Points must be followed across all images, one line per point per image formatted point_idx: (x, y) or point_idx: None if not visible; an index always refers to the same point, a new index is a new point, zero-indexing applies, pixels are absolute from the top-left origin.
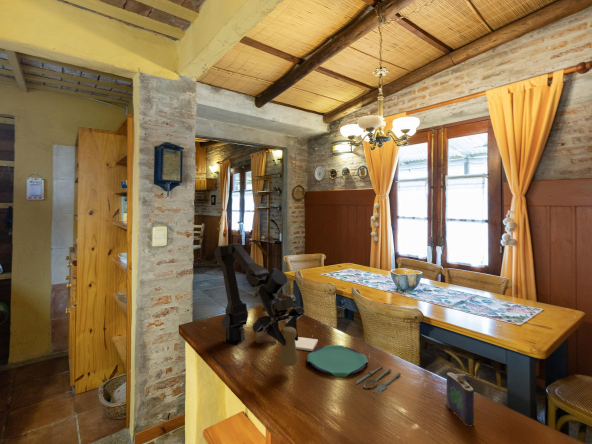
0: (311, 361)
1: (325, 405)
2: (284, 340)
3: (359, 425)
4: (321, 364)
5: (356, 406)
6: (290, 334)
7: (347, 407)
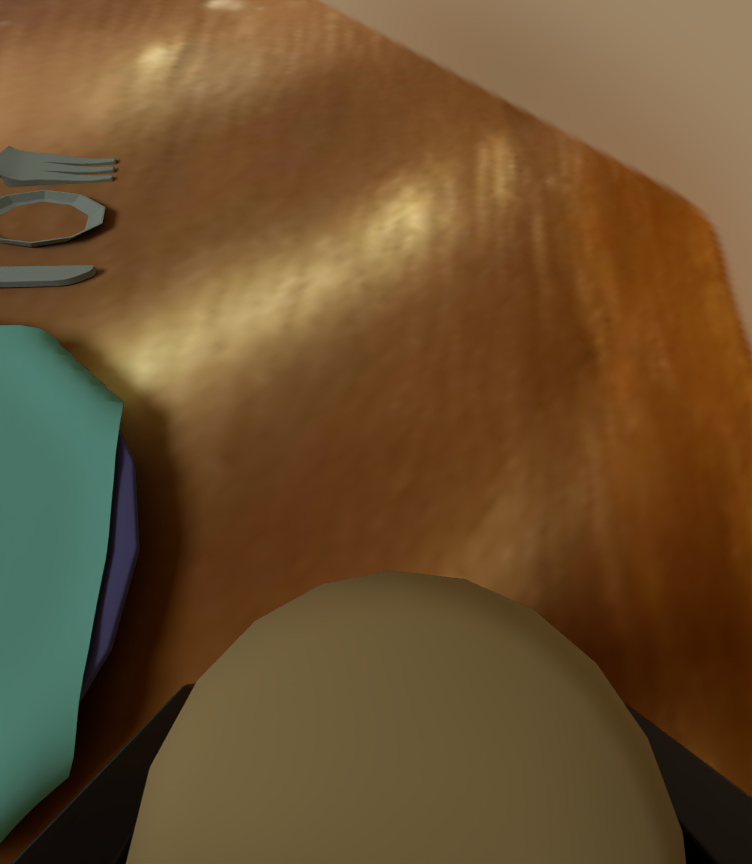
0: (62, 697)
1: (427, 263)
2: None
3: (402, 107)
4: (17, 610)
5: (298, 171)
6: (495, 595)
7: (342, 191)
